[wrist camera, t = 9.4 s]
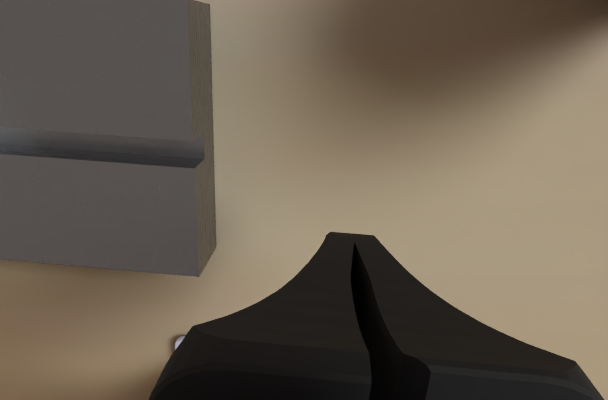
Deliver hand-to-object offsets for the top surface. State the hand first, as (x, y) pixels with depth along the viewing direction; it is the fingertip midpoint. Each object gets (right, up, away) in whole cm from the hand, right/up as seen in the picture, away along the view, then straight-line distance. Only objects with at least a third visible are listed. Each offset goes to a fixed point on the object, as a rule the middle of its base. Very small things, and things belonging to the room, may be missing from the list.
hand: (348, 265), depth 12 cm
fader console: (-15, +6, +9) cm, 19 cm away
